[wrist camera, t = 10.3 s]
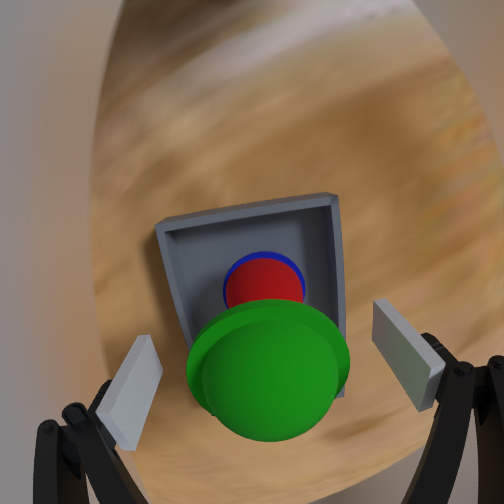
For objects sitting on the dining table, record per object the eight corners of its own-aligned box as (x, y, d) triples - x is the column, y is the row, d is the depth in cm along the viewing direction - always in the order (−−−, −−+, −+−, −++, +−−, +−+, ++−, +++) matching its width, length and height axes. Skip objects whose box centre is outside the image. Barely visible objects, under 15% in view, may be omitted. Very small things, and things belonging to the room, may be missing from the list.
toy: (207, 319, 25) (178, 466, 10) (215, 232, 23) (171, 339, 8) (295, 328, 25) (336, 470, 11) (312, 244, 23) (402, 353, 9)
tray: (165, 217, 23) (154, 225, 20) (326, 192, 23) (338, 195, 20) (214, 395, 28) (212, 416, 25) (336, 377, 28) (344, 396, 25)
